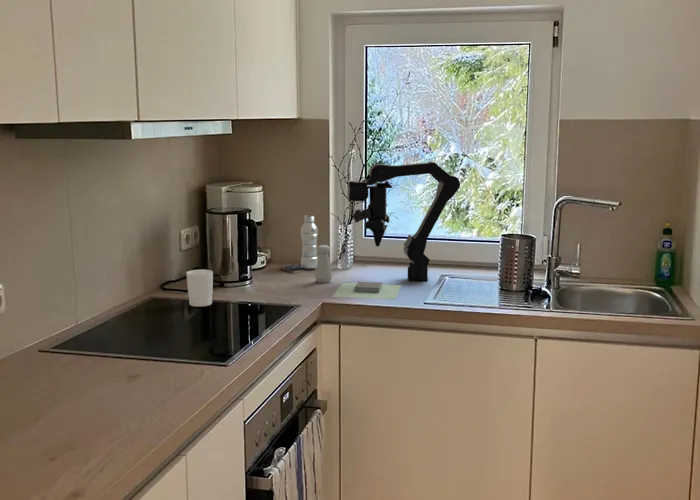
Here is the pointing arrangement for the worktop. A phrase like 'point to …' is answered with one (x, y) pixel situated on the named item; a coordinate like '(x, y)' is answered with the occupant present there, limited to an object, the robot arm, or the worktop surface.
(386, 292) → the trivet mat
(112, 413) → the worktop surface
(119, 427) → the worktop surface
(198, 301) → the white cup
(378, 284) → the slate tile
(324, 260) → the salt shaker
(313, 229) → the plastic bottle
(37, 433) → the worktop surface
